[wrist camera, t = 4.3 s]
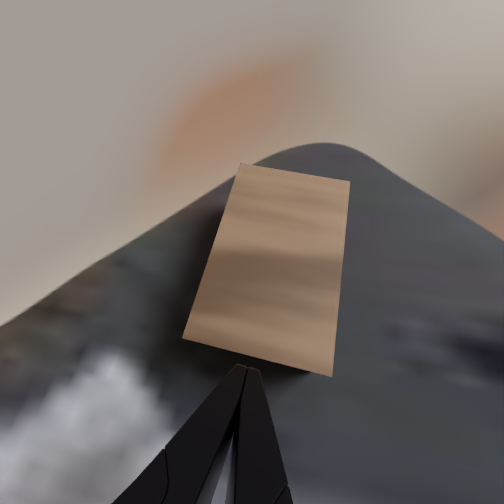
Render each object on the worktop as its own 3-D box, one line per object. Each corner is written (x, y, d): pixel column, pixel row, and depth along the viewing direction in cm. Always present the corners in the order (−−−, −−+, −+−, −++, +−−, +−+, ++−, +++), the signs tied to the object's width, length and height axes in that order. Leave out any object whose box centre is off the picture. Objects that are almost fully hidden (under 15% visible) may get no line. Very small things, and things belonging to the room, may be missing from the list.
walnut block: (331, 377, 11) (350, 181, 15) (181, 338, 11) (240, 163, 16) (310, 371, 15) (328, 221, 19) (203, 343, 16) (244, 206, 20)
